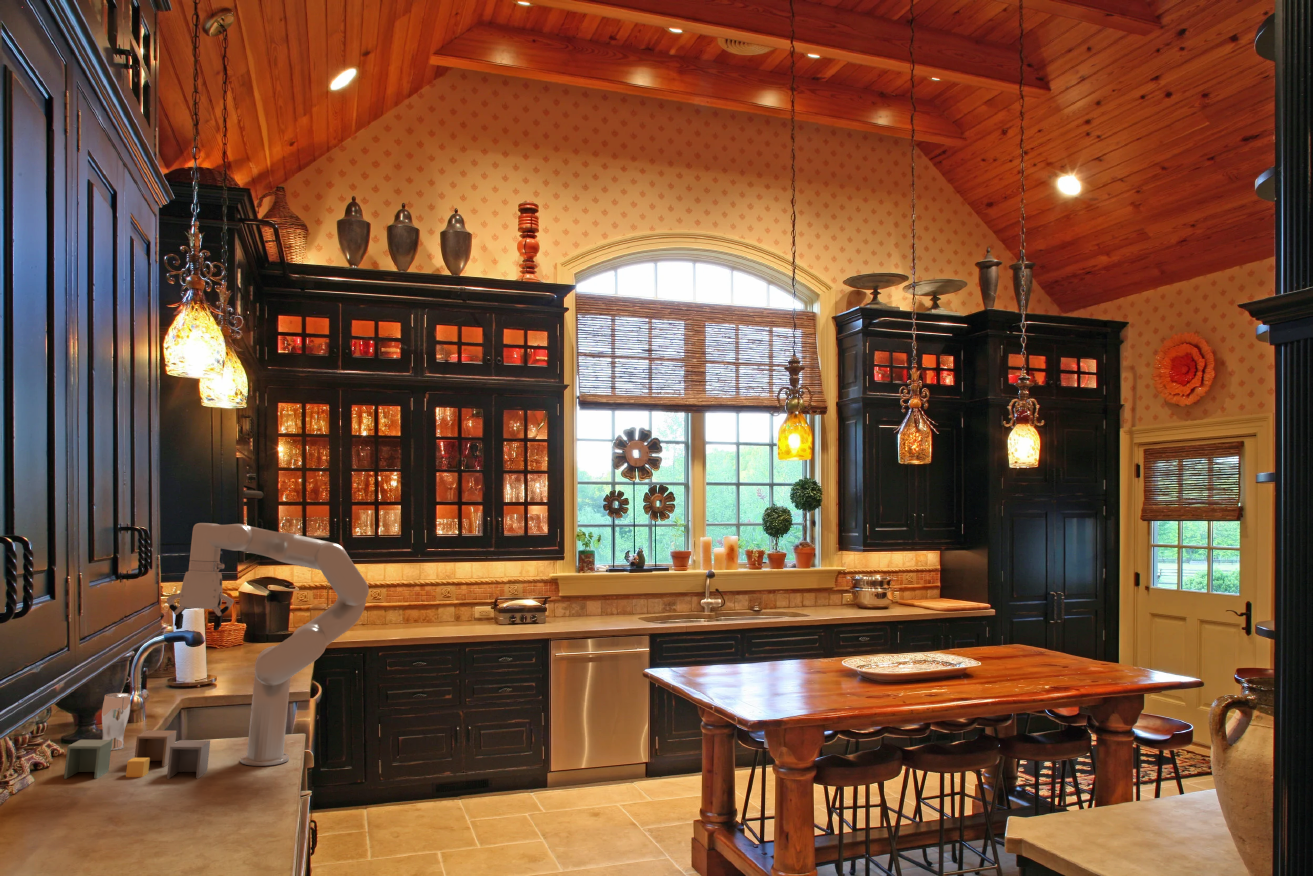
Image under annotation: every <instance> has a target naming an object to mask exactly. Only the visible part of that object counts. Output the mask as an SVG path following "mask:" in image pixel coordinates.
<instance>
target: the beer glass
mask: <svg viewBox="0 0 1313 876" xmlns="http://www.w3.org/2000/svg"><path fill="white" fill-rule="evenodd" d="M130 713H131V693H126V692H113V693H107V694H105V695H104V700H103V703H102V710H101V724H102V738H101V740H112V746H111V751H118V750H122V749H124V748H125V741H124V737H125V729H126V726H127V724H128V722H129V721H128V720H129V717H130Z"/></svg>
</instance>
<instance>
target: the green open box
mask: <svg viewBox="0 0 1313 876" xmlns="http://www.w3.org/2000/svg"><path fill="white" fill-rule="evenodd" d="M111 746H112V740H102V739H79V740H77V741H75V742H73V743H72V744H71V743H70V744H69V745H68V746H67V748H66V749H67V750H66V756H65V758H66V759H65V764H64V765H65V766H64V773H63V774H64V775H63V780H67V779H68V778H70V777H72V776H73V775H76V774H77V773H78V772H79V773H81V772H83V773H85V772H87V773H94V775H93V777H94V778H93V779H95V780H96V779H99V778H100V777H102V776H103V775H105V774H107V773H108V772H109V771H110V761H111V752H112V750H111Z"/></svg>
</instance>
